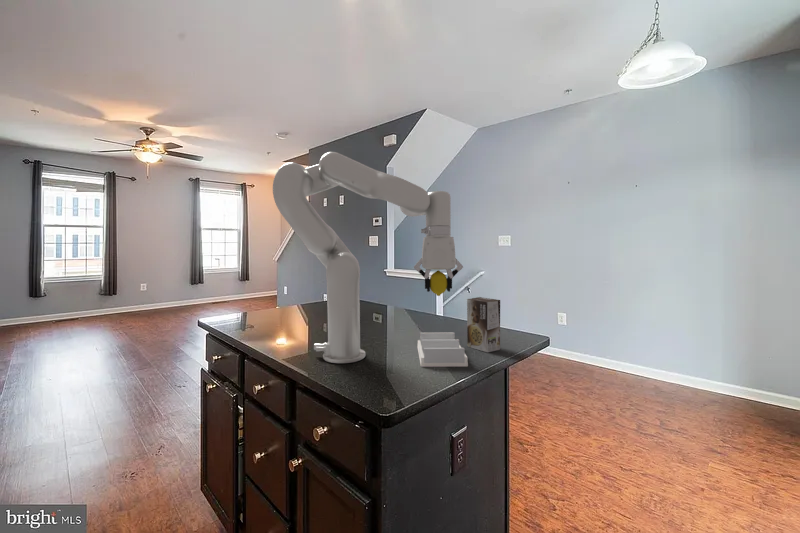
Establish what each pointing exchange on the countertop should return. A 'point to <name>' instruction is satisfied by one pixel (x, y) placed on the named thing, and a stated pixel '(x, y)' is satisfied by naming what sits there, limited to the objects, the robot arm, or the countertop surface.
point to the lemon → (438, 283)
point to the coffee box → (483, 324)
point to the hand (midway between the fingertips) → (438, 290)
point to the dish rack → (440, 350)
